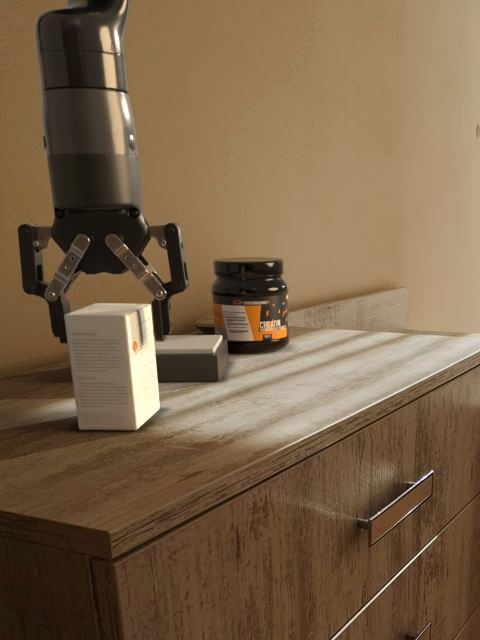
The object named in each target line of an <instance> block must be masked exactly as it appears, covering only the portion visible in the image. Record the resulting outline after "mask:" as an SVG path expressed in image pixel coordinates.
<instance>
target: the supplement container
mask: <svg viewBox="0 0 480 640" xmlns="http://www.w3.org/2000/svg"><path fill="white" fill-rule="evenodd" d="M212 268H213V269H212V270H213V275H214V276H215V280H214V281H213V282H212V283H211V285H210V293H211V295H212V309H213V324H214V335H222V338H227V346H228V353H233V354H234V353H236V354H261V353H271V352H278V351H280V350H283V349H285V348H286V347H288V345H289V344H290V341H291V335H290V324H289V323H290V320H289V295H288V294H289V293H288V292H289V284H288V283H287V282H286V280H285V279H284V277H283V275H284V274H285V261H284V259H283V258H280V257H269V256H268V257H267V256H237V257H235V256H234V257H221V258H215V259H214V260H213V261H212Z"/></svg>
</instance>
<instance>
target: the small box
mask: <svg viewBox="0 0 480 640" xmlns="http://www.w3.org/2000/svg"><path fill="white" fill-rule="evenodd" d="M64 320H65V328H66V335H67V343H68V344H67V348H68V349H67V350H68V357H69V364H70V373H71V379H72V388H73V394H74V402H75V408H76V409H75V410H76V416H77V425H78V430H80V431H137V430H138V429H139V428H141V426H143V425H144V424H145V423H146V422H147V421H148V420H149V419H150V418H151V417H152V416H154V415H155V414H156V413H157V412H158V411H159V410H160V408H161V404H160V403H161V402H160V393H159V382H158V379H157V367H156V356H155V345H154V336H155V334H154V323H153V312H152V304H150V303H118V302H117V303H116V302H114V303H113V302H112V303H111V302H110V303H109V302H103V303H102V302H93V303H92V304H89V305H87V306H84V307H82V308H78V309H76V310H73V311H71V313H68V314H65V315H64Z"/></svg>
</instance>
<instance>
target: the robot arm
mask: <svg viewBox="0 0 480 640" xmlns="http://www.w3.org/2000/svg"><path fill="white" fill-rule="evenodd" d="M130 3H131V0H66V2H65V6H64V7H55V8H50V9H46V10H45V11H43V12H41V13H40V14H38V16H37V17H36V19H35V22H34V31H33V32H34V45H35V52H36V53H35V54H36V60H37V67H38V69H37V70H38V76H39V83H40V84H39V85H40V89H41V122H42V130H43V136H42V140H43V141H42V142H43V147H44V150H45V154H46V162H47V169H48V176H49V184H50V191H51V200H52V206H53V213H54V217H53V218H54V219H53V222H52V225H39V224H36V223H33V222H32V223H31V222H27V223H22V224H20V225H19V226H18V227H17V237H18V249H19V261H20V271H21V283H22V284H21V285H22V290H23V292H24V293H25V294H27V295H29V296H32V295H33V296H36V297H39V298H42V299H44V300H45V301H46V304H47V306H48V313H49V320H50V327H51V332H52V334H53V337H54V338H59V342H60V344H61V345H63V344H65V345H66V344H67V345H68V343H67V335H66V328H65V320H64V315H65V314H68V313H71V312H72V310H71V303H70V299H67V298H66V295H67V294H68V292H69V290H70V289H71V287H72V285H73V284H74V283H75V281H76V280H77V279H78V278H79V276H80V275H81V273H83V274H84V273H85V275H97V274H102V273H106V274H111V275H123V274H125V273H127V272H130V273H131V274H132V275H133V276H134V278H135V279H136V280H137V281H138V282H140V283H141V284H142V285H143V286H144V287H145V289H146V290H147V291H148V292H149V294H151V296H152V297H153V300H151V313H152V323H153V333H154V336H155V340H156V342H164V341H165V340H166V337H167V335H171V333H172V331H173V327H174V326H173V315H172V314H173V313H172V303H171V300H172V297H173V296H175V295H177V294H180V293H183V292H185V290H187V289H188V288H189V287H190V279H189V271H188V263H187V262H188V261H187V257H186V249H185V242H184V233H183V227H182V225H181V224H180V223H179V222H176V221H173V222H168V223H166V224H157V225H156V224H155V225H154V224H153V225H150V224H149V223H148V221H147V219H146V216H145V212H144V211H145V210H144V201H143V190H142V181H141V170H140V169H141V167H140V159H139V158H140V157H139V149H138V147H139V146H138V137H137V127H136V121H135V116H134V112H133V108H132V103H131V97H130V96H131V95H130V88H129V87H130V85H129V78H128V77H129V76H128V67H127V57H126V56H127V55H126V48H125V36H126V30H127V24H128V18H129V10H130ZM152 238H153V239H155V240H156V241H157V244H158V246H159V247H160V249H162V250H166V254H167V260H168V267H169V274H170V280H169V281H166V282H165V280H164V279H163V278H162V277H161V275H160V274H159V273H158V272H157V270H156V268H155V267H154V265H153V264H152V263H151V262H150V261H149V260H148V259H147V257H146V256H145V255H144V254H143V253H144V251H145V250H146V247H147V246H148V244H149V243H150V240H151V239H152ZM51 239H52V240H53V242H54V243H55V244H56V245H57V246H58V248H59V249H60V250H61V251H62V252H63V254H65V255H64V256H63V259H62V260H61V262H60V264H59V265H58V267H57V269H56V270H55V272H54V276H53V277H52V279H51V281H50V282H47V281H46V280H45V269H44V256H43V250H46V249H47V248H48V246H49V241H50V240H51Z"/></svg>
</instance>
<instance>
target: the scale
mask: <svg viewBox="0 0 480 640" xmlns="http://www.w3.org/2000/svg"><path fill="white" fill-rule="evenodd" d="M154 345H155V356H156V367H157V379H158V383H173V382H174V383H175V382H176V383H177V382H179V383H180V382H181V383H182V382H183V383H184V382H185V383H186V382H188V383H189V382H219V381H220V379H221V378H222V375H223V373H224V371H225V369H226V367H227V365H228V363H229V352H228V346H227V338H222V335H215V334H186V335H185V334H184V335H183V334H178V335H177V334H176V335H171V334H169V335H167V337H166V340H165V341H164V342H156V340H155V335H154Z"/></svg>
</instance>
